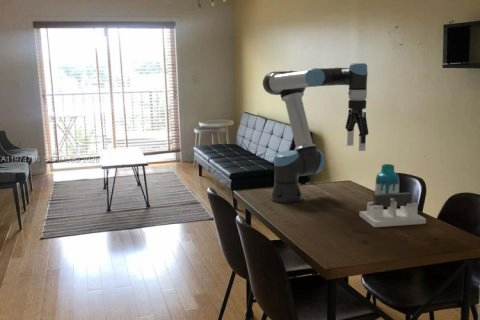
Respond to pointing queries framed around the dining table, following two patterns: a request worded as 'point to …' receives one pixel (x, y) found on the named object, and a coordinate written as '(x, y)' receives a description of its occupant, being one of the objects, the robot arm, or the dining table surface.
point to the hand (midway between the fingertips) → (355, 148)
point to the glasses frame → (398, 197)
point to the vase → (387, 180)
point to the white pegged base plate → (392, 215)
